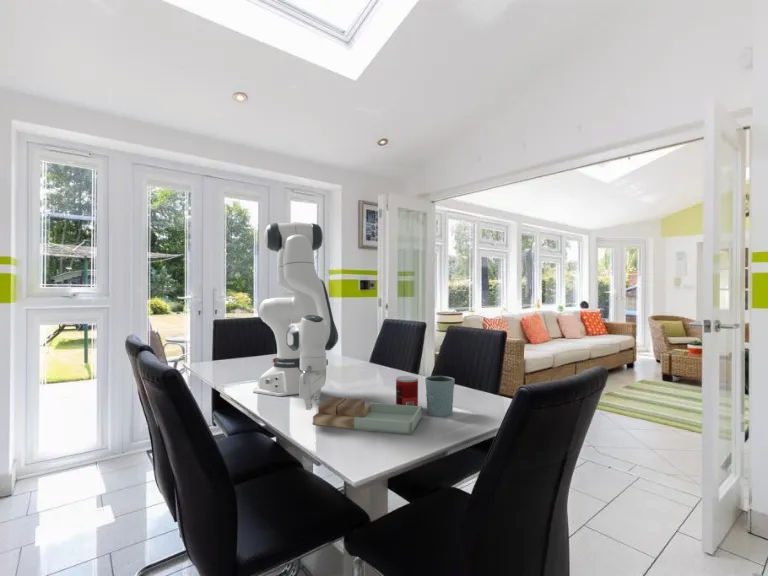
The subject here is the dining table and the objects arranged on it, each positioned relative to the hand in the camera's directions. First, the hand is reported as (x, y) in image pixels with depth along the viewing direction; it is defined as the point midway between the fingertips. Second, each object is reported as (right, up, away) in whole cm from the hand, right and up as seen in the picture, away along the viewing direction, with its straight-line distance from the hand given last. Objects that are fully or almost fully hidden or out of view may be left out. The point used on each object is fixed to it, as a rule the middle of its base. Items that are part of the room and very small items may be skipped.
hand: (312, 405), depth 141 cm
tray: (+26, -4, -7) cm, 27 cm away
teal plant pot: (+43, -4, +4) cm, 44 cm away
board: (+10, -4, -3) cm, 11 cm away
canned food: (+32, -4, +9) cm, 34 cm away
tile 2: (+13, -1, -3) cm, 14 cm away
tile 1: (+7, -1, -2) cm, 7 cm away
